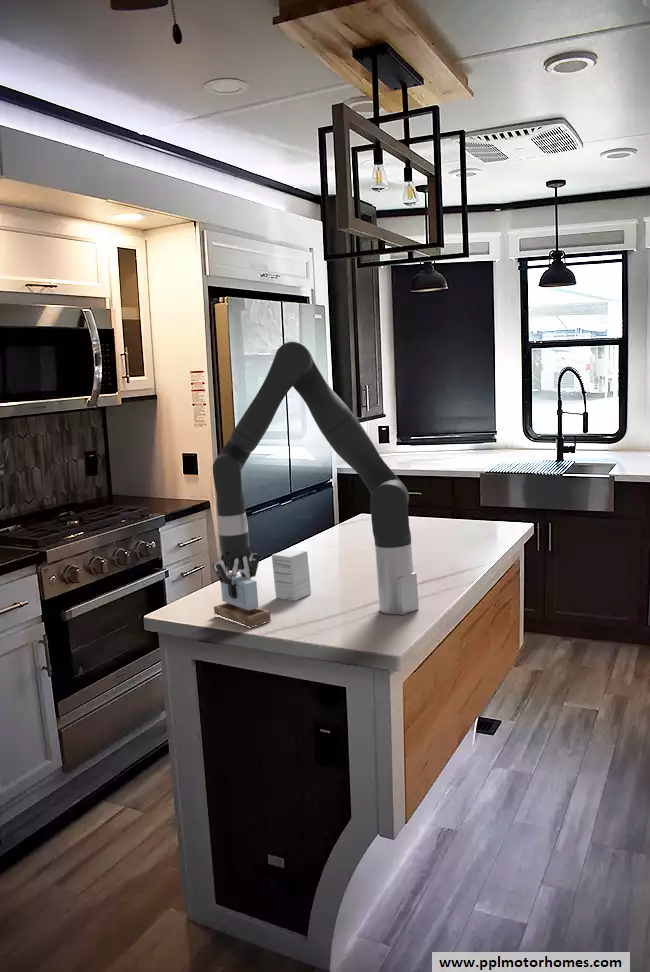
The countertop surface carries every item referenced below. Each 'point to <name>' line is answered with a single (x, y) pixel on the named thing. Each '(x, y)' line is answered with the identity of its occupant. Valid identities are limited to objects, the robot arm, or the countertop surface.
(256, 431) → the robot arm
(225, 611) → the wooden tray
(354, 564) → the countertop surface
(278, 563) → the supplement box
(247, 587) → the light blue rectangular block
